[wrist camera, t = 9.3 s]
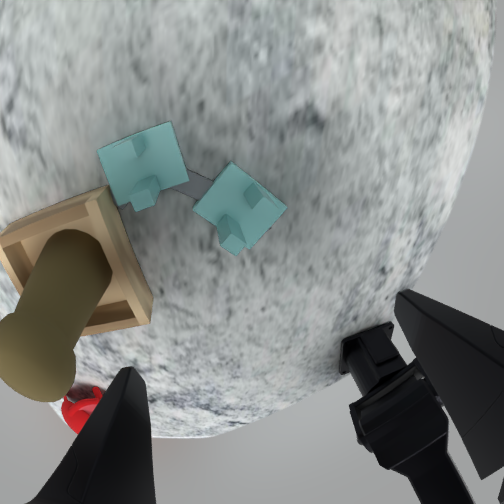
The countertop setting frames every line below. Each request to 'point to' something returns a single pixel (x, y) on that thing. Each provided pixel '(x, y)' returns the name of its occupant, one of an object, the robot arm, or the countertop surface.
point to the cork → (53, 316)
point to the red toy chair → (79, 410)
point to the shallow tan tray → (114, 246)
